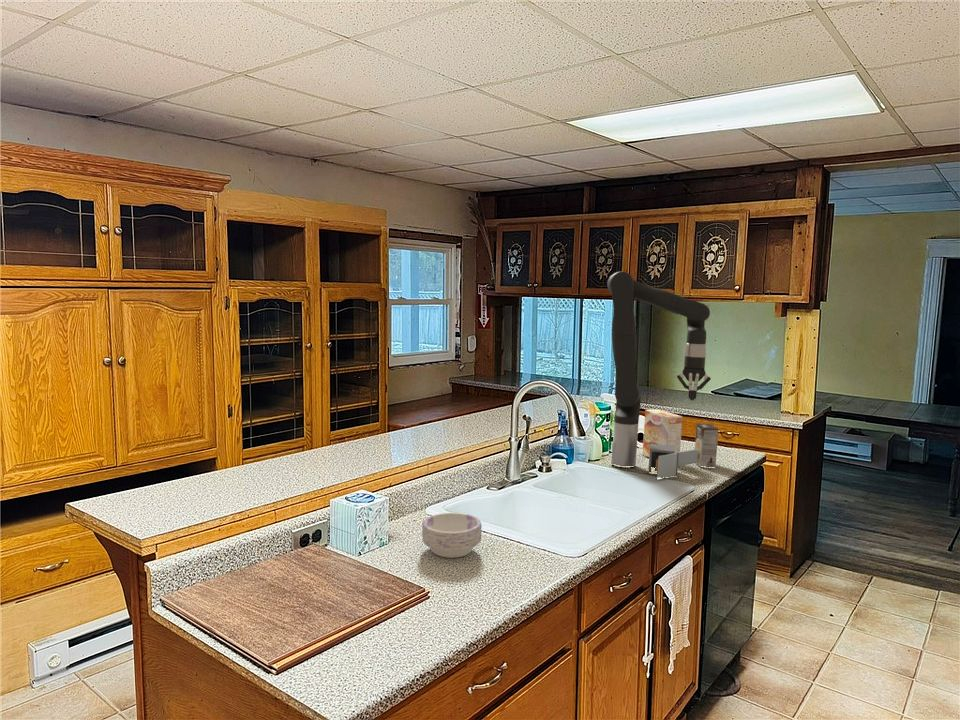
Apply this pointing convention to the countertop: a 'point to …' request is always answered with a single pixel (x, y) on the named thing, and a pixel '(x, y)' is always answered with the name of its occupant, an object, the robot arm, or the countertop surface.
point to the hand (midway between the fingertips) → (691, 399)
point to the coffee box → (706, 444)
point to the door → (675, 462)
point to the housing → (658, 454)
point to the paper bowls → (451, 534)
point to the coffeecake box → (661, 430)
